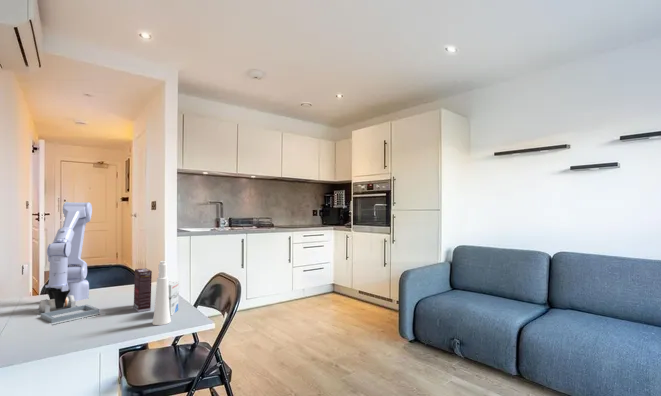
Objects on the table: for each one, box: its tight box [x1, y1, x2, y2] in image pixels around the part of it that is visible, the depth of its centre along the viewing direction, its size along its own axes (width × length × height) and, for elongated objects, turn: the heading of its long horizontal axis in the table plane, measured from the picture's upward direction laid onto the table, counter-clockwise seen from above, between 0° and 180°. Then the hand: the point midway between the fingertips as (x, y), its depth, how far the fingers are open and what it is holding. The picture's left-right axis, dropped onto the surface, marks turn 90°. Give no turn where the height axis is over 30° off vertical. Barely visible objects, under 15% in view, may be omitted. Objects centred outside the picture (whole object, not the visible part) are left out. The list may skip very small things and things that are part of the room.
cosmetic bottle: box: [151, 260, 172, 326], centre depth 125 cm, size 6×6×22 cm
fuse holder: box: [32, 301, 78, 316], centre depth 138 cm, size 13×10×4 cm
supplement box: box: [133, 267, 153, 313], centre depth 142 cm, size 9×5×16 cm, turn 41°
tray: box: [40, 304, 100, 326], centre depth 131 cm, size 15×11×2 cm
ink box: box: [168, 280, 180, 317], centre depth 137 cm, size 8×5×12 cm, turn 5°
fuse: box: [39, 295, 75, 312], centre depth 138 cm, size 10×5×5 cm, turn 146°
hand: (57, 307), depth 138 cm, fingers closed on fuse, 4 cm apart
